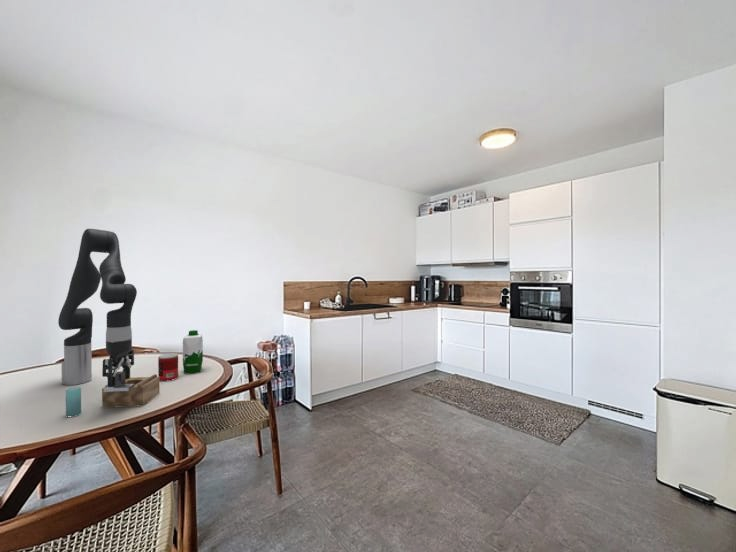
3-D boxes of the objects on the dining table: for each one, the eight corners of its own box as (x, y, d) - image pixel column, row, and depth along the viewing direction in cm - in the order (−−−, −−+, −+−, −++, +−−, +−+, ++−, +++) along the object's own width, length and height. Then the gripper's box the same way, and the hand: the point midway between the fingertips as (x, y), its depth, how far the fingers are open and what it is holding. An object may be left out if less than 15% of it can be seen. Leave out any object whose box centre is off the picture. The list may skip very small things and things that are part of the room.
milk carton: (203, 367, 167) (203, 329, 167) (202, 372, 159) (202, 332, 159) (184, 369, 164) (184, 330, 163) (181, 375, 155) (181, 334, 155)
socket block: (102, 407, 119) (102, 386, 118) (122, 395, 130) (122, 375, 130) (143, 405, 120) (143, 384, 120) (159, 393, 132) (159, 374, 132)
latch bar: (103, 391, 115) (103, 374, 115) (111, 387, 119) (111, 371, 119) (128, 390, 116) (128, 373, 116) (134, 386, 120) (134, 370, 120)
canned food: (181, 376, 154) (181, 353, 154) (170, 381, 146) (169, 357, 146) (167, 375, 155) (166, 352, 155) (154, 381, 147) (154, 357, 147)
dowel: (62, 417, 110) (62, 391, 110) (71, 412, 114) (71, 387, 114) (75, 416, 111) (75, 391, 111) (84, 411, 115) (83, 386, 115)
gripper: (120, 334, 124) (120, 376, 124) (93, 343, 110) (94, 390, 110) (141, 334, 125) (141, 375, 125) (117, 342, 111) (118, 389, 111)
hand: (119, 382), depth 117 cm, fingers open, 8 cm apart
